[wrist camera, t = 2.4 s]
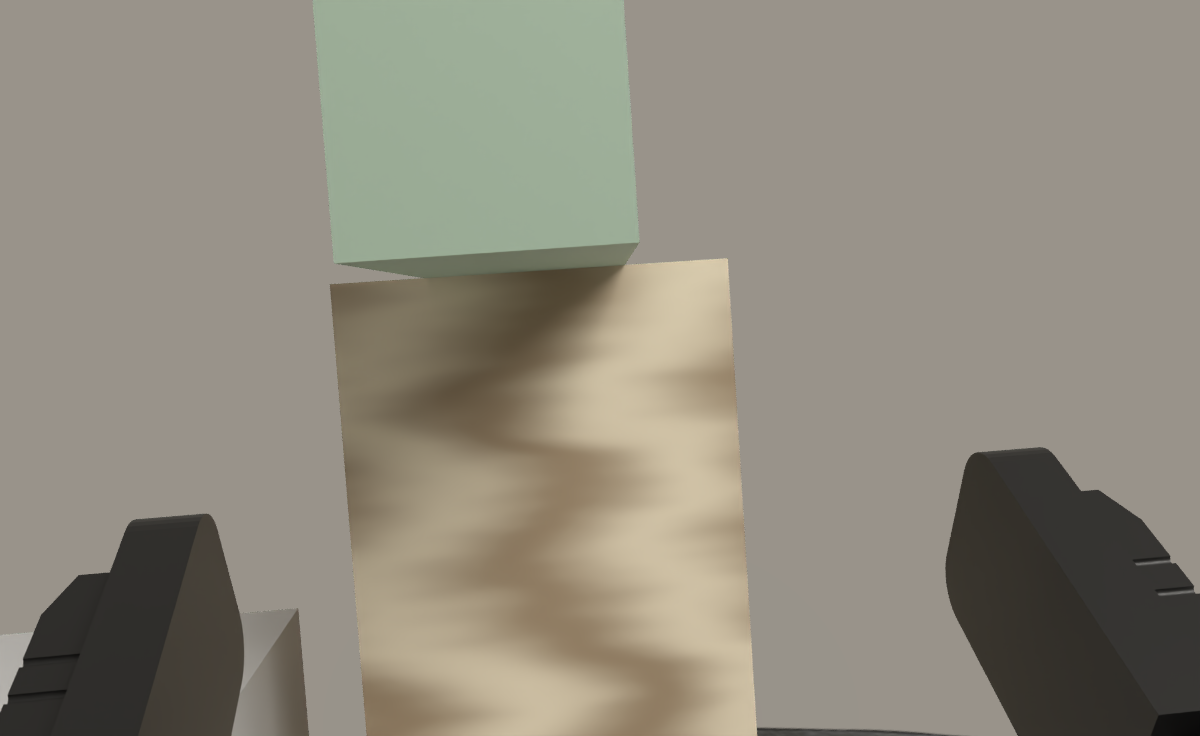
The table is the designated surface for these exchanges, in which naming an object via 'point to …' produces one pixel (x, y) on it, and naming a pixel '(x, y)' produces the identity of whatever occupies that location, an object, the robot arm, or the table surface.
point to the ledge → (270, 678)
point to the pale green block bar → (477, 134)
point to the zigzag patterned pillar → (547, 502)
